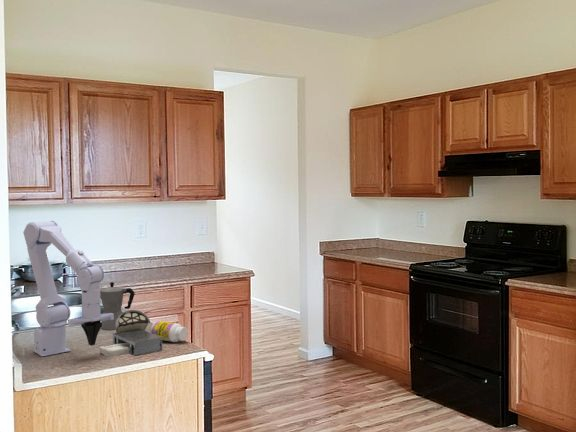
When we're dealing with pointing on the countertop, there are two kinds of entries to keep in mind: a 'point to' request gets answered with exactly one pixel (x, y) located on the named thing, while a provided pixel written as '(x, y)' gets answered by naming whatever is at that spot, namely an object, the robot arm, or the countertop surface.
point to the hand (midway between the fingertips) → (91, 344)
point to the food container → (132, 321)
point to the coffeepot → (114, 303)
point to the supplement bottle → (169, 331)
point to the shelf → (139, 341)
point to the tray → (115, 349)
